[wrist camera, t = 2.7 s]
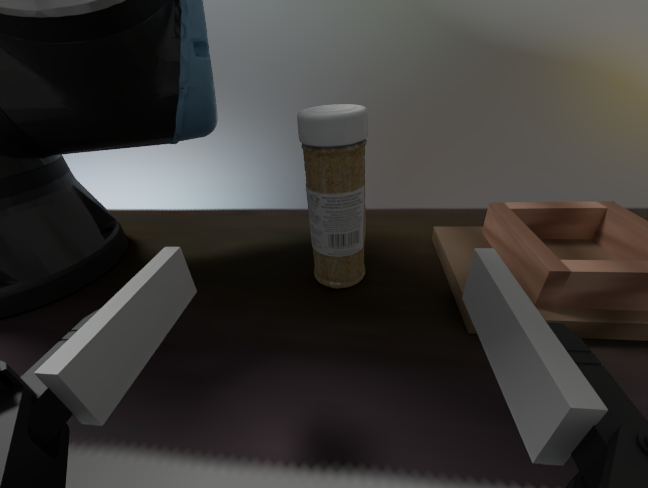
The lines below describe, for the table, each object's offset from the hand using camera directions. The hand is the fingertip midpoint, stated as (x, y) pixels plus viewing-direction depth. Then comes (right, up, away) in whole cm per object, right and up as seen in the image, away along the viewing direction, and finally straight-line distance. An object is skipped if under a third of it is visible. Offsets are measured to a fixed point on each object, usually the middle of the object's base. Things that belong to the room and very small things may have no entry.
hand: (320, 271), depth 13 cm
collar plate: (+19, -2, +10) cm, 22 cm away
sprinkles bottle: (+1, -2, +13) cm, 13 cm away
